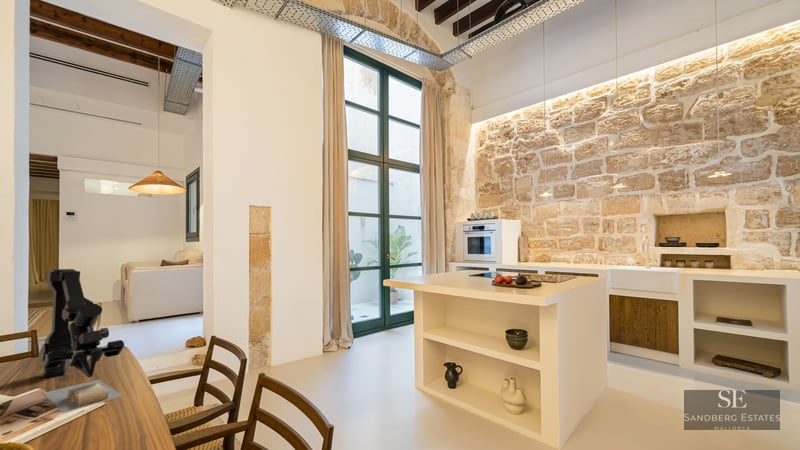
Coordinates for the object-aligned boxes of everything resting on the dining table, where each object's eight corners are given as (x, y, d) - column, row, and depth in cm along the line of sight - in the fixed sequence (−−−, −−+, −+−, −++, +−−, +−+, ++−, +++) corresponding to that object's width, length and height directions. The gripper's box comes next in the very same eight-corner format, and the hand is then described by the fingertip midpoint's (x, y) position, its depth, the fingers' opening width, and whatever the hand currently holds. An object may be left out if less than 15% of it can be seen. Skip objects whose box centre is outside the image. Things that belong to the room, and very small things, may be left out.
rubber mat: (42, 394, 106) (42, 393, 106) (98, 380, 118) (98, 379, 118) (62, 414, 95) (63, 412, 95) (122, 396, 107) (123, 395, 107)
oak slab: (68, 389, 104) (79, 397, 99) (97, 382, 110) (108, 389, 105) (67, 397, 104) (78, 406, 98) (96, 390, 110) (107, 398, 104)
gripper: (50, 325, 101) (56, 370, 94) (125, 316, 117) (135, 354, 110) (40, 347, 104) (45, 391, 98) (114, 335, 120) (123, 373, 113)
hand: (90, 376), depth 105 cm, fingers closed
